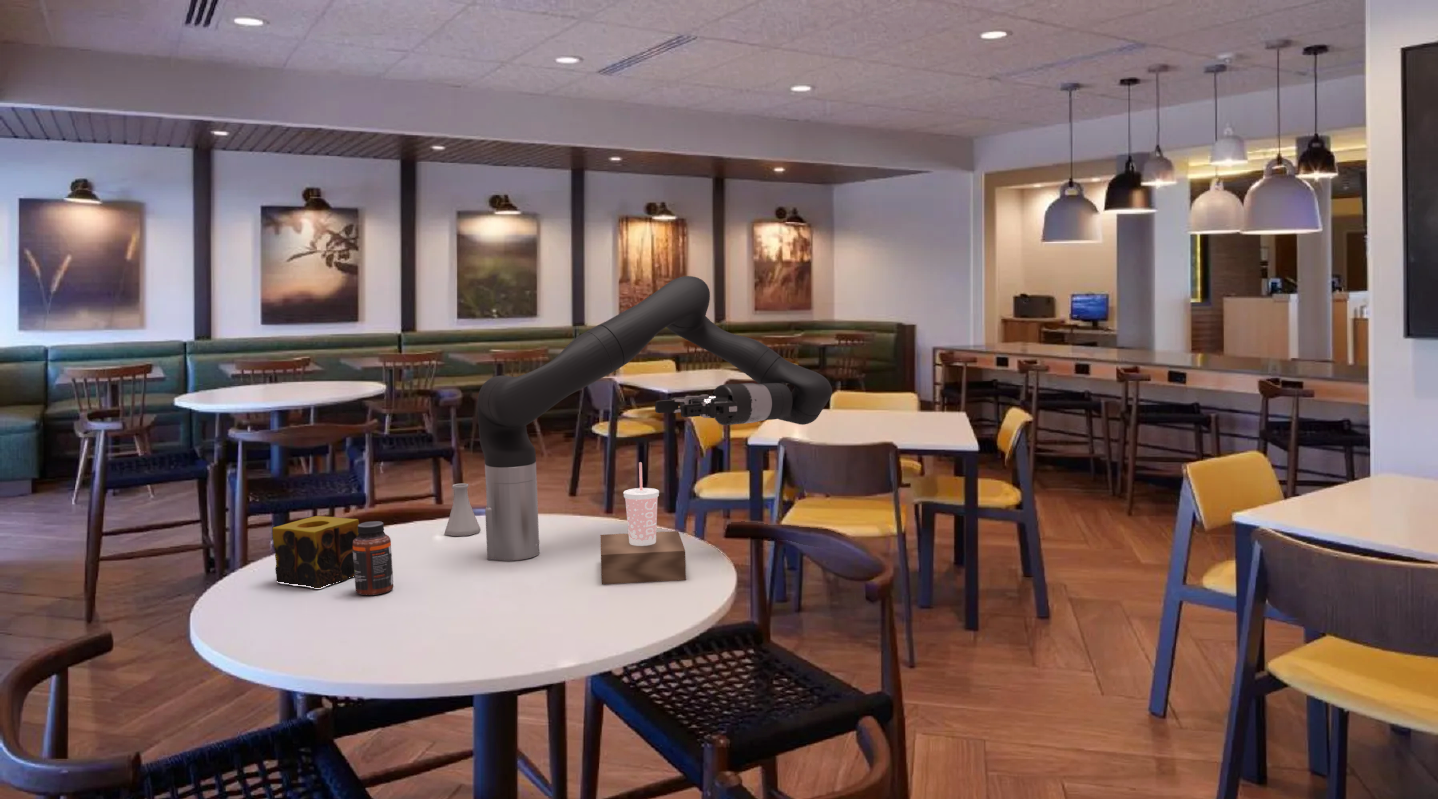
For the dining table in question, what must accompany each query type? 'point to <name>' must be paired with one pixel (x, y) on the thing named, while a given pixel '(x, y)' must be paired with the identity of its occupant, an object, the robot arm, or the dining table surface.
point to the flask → (461, 514)
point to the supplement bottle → (372, 559)
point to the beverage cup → (641, 513)
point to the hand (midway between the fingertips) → (668, 409)
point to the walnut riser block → (642, 559)
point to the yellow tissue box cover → (315, 550)
